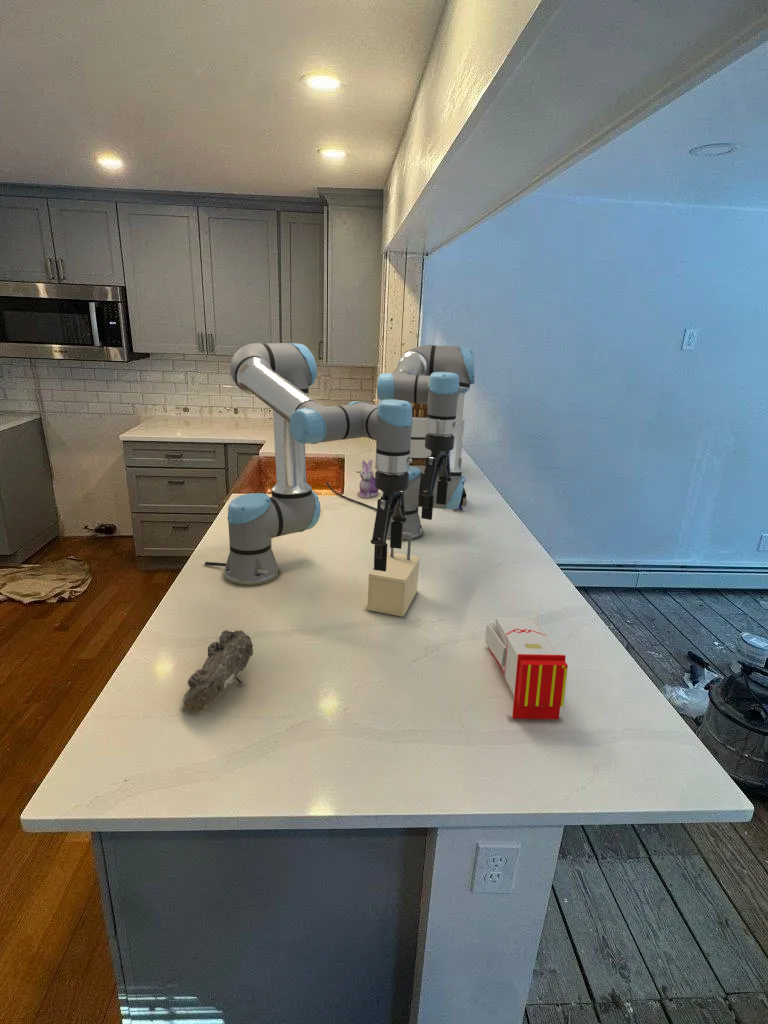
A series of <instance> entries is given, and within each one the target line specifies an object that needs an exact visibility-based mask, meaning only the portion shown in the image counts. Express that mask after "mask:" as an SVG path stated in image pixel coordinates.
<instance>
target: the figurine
mask: <svg viewBox="0 0 768 1024" xmlns="http://www.w3.org/2000/svg"><path fill="white" fill-rule="evenodd" d="M373 463H374V461H373V459H370V460H369V461H368V462H366V461H365V460H362V461H361V471H360V473H359V475H360V478H361V480H360V482H359V492H358V495H359V497H360V498H365V499H369V498H374V497H376V496H378V494H379V489H377V488H376V487H375V473H374V472H373V468H372V466H373Z"/></svg>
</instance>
